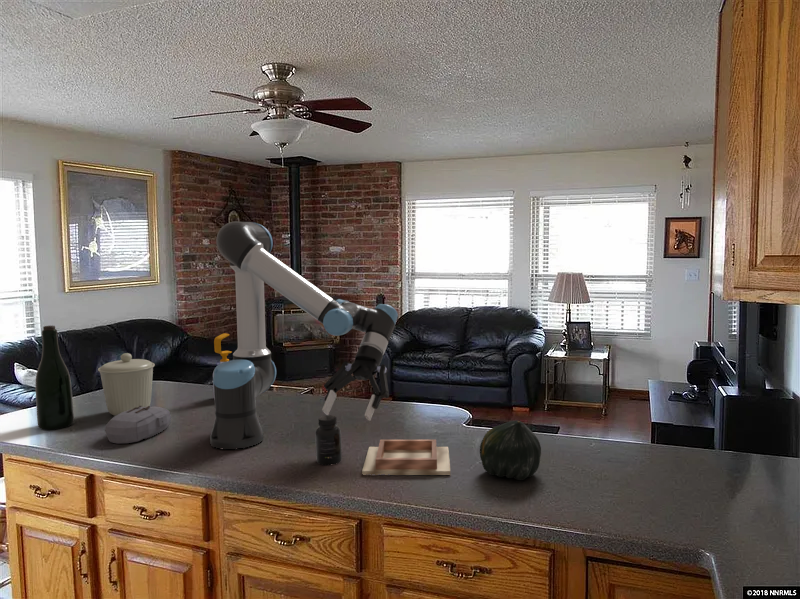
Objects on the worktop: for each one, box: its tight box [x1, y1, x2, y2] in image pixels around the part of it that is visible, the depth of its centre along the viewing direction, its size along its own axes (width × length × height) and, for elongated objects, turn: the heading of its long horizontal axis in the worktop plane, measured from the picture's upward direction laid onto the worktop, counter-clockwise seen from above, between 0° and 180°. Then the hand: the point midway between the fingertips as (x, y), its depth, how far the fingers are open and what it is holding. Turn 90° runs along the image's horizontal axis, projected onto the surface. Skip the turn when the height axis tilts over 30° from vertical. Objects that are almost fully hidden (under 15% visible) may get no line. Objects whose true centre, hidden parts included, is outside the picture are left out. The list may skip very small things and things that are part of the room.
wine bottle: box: [35, 325, 75, 431], centre depth 198 cm, size 10×10×33 cm
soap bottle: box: [212, 332, 233, 391], centre depth 230 cm, size 9×9×25 cm
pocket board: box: [361, 439, 451, 476], centre depth 161 cm, size 22×18×4 cm
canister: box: [97, 352, 156, 417], centre depth 213 cm, size 18×18×21 cm
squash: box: [479, 420, 542, 481], centre depth 151 cm, size 14×15×15 cm
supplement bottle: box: [314, 414, 343, 466], centre depth 163 cm, size 7×7×12 cm
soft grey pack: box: [104, 405, 172, 444], centre depth 189 cm, size 15×8×20 cm
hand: (345, 415), depth 167 cm, fingers open, 13 cm apart
